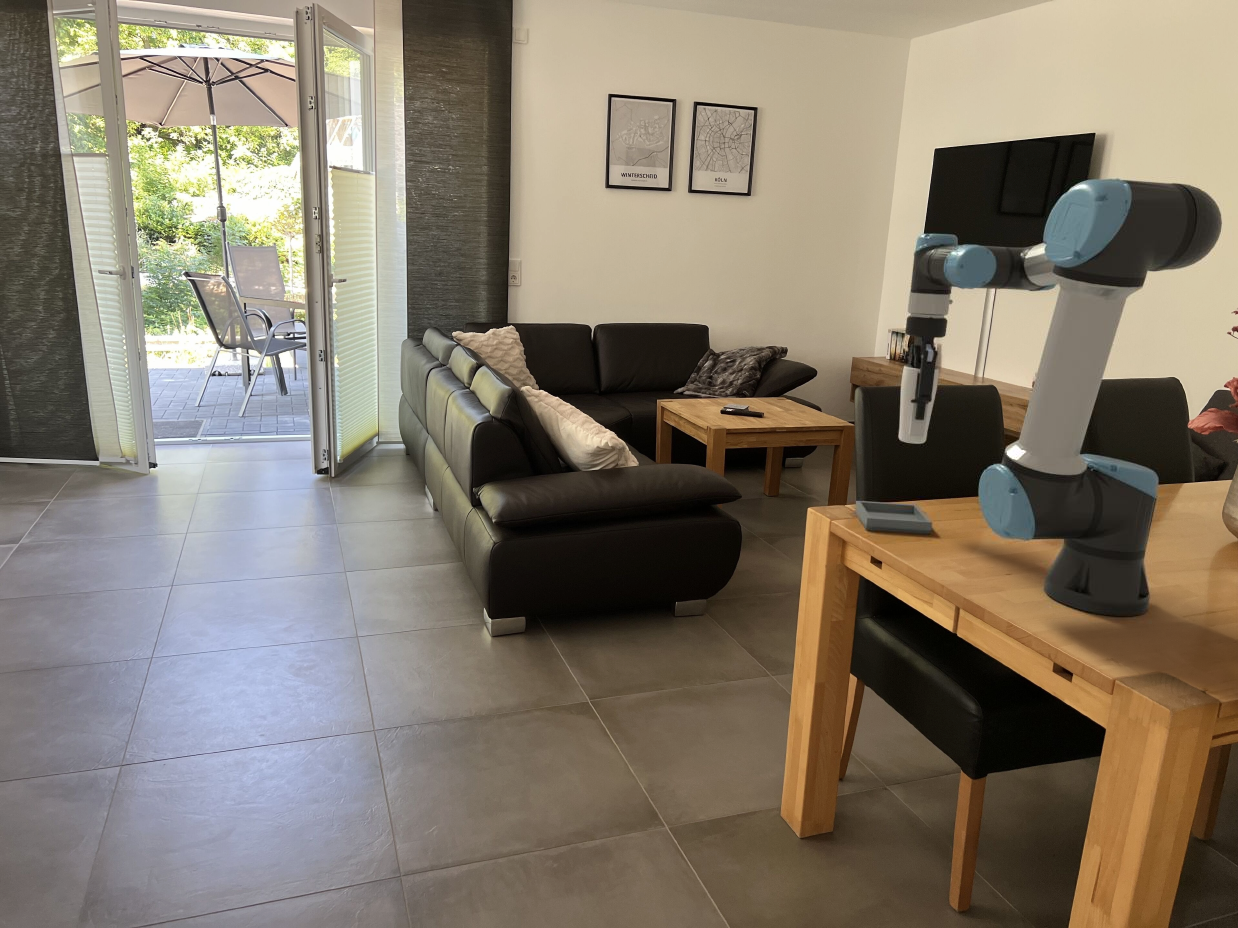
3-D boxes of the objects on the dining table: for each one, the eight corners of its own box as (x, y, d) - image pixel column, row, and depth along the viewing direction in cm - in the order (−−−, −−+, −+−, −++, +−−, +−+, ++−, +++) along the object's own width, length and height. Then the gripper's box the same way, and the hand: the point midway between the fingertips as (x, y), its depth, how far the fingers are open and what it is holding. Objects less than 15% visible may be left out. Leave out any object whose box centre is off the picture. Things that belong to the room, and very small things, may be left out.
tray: (930, 534, 174) (932, 522, 173) (865, 530, 175) (867, 518, 174) (915, 516, 186) (916, 504, 186) (854, 512, 187) (856, 500, 187)
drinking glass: (933, 446, 174) (943, 370, 170) (899, 444, 174) (908, 368, 170) (924, 438, 180) (933, 365, 177) (890, 437, 181) (899, 364, 177)
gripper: (959, 320, 162) (943, 443, 167) (936, 313, 180) (922, 424, 186) (917, 318, 163) (902, 440, 168) (898, 311, 181) (885, 422, 186)
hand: (912, 432), depth 177 cm, fingers closed on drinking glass, 6 cm apart
